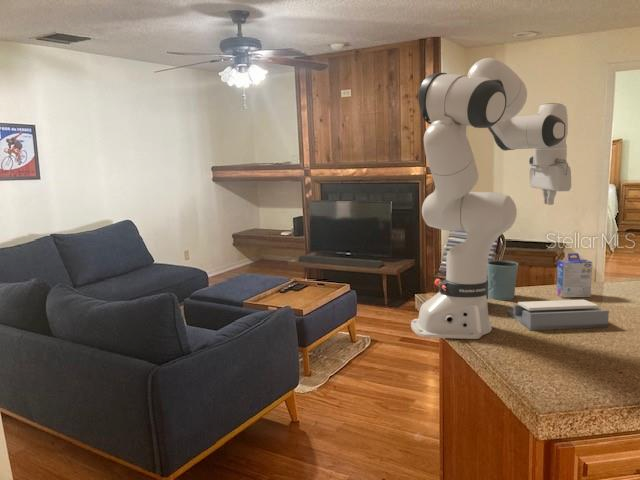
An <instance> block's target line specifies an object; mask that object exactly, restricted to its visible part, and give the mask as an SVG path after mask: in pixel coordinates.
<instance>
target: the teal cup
mask: <svg viewBox="0 0 640 480" xmlns="http://www.w3.org/2000/svg"><path fill="white" fill-rule="evenodd" d="M519 265H520V264H519V263H518V262H516V261H513V260H502V259H494V260H488V265H487V280H488V286H489V294H488V298H490V299H492V300H497V301H498V300H499V301H510V300H513V299H514V298H515V293H516V289H515V288H516V286H517V285H516V284H517V277H518V271H519V270H518V269H519Z"/></svg>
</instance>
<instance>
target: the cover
mask: <svg viewBox="0 0 640 480" xmlns="http://www.w3.org/2000/svg"><path fill="white" fill-rule="evenodd" d="M517 304H518V305H520V306H521V307H523V308H525V309H527V310H529V311H535V310H561V309H586V308H600V307H599V304H596V303H594V302H591V301H589V300H586V299H566V300H565V299H561V300H538V301H537V300H536V301H518V302H517Z"/></svg>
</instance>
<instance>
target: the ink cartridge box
mask: <svg viewBox="0 0 640 480" xmlns="http://www.w3.org/2000/svg"><path fill="white" fill-rule="evenodd" d="M571 256H575V257H571ZM556 263H557V266H556V267H557V268H556V272H557V273H556V277H557V278H556V295H558V296H559V297H561V298H562V299H564V298H590V297H592V280H593V279H592V277H593V275H592V274H593V261H590V260H588V259H586V258H585V259H580V255H579V253H576V252H575V253H567V259H565V260H563V259H562V260H557V262H556Z"/></svg>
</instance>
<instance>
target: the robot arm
mask: <svg viewBox="0 0 640 480" xmlns="http://www.w3.org/2000/svg"><path fill="white" fill-rule="evenodd" d="M418 89H419V90H418V94H417V95H418V96H417V98H418V99H417V100H418V105H419V106H418V107H419V110H420V111H421V116H422V119H423V120H424V121H425V122H426V123H427V124H428V125H429V126H428V127H427V129H426V130H425V131H424V135H423V147H424V153H425V158H426V161H427V165H428V168H429V171H430V173H431V176H432V179H433V183H434V184H433V185H434V190H433V192H432V193H430V194H429V195H427V196H426V198H425V199H424V201H423V203H422V206H421V215H422V219H423V221H424V222H425V224H426V225H427V226H428V227H431V228H434V229H438V230H441V231H442V230H443V231H454V232H466V239H465V241H463V242H460V243H458V244H456V245H453V246H452V247H451V248H450V249H449V250H448V251H447V253H446V256H445V257H446V259H445V261H446V263H445V265H446V267H445V268H446V269H445V272H446V275H445V277H446V278H444V279H443V280H441V279H440V278H436V279H435V280H434V285H436V286H437V287H438V292H437V293H435V294H434V295H433V296H432V297H431V298H429V299H427V300H426V301H425V302H423V303H422V304H421V305H420V308H419V311H418V312H419V313H418V318H414V319H412V320H411V321H410V328H411V330H412V331H413V332H414V333H415V334H416V335H417V336H419V337H422V338H428V339H429V338H431V339H463V340H469V339H470V340H477V339H478V340H479V339H481V337H482V336H484V335H487V334H489V333H491V332H492V329H493V327H492V324H491V320H490V316H489V315H490V314H489V308H488V299H489V296H488V294H489V286H488V274H487V265H488V261H489V255H490V251H491V249H492V246H493V245H494V243H495V242H496V240H498V238H499V237H500V236H501V235H503V234H504V233H506V232H507V231H509V229H511V228H512V227H513V225H514V223H515V222H516V218H517V214H518V212H517V211H518V210H517V206H516V203H515V201H514V199H513V198H512V197H511V196H509V195H508V194H504V193H503V194H502V193H498V192H493V191H488V192H487V191H472V190H473V189H474V188H475V187H476V185H477V184H478V181H479V170H478V168H477V163H476V161H475V160H476V159H475V157H474V153H473V150H472V147H471V145H470V142H469V140H468V137H467V127H473V128H477V129H488V130H489V132H490V133H491V134H492V136H493V140H494V142H495V144H496V145H497V147H499V149H501V150H502V151H505V152H506V151H513V150H526V149H527V150H528V149H529V150H530V149H534V153H533V155H531V156H530V157H529V158H528V165H529V172H528V175H529V176H528V177H529V186H530V187H531V188H532V189H533V188H534V189H540V190H541V193H542V197H543V204H544V205H548V206H551V205H554V202H555V201H554V200H555V198H556V195H557V192H570V190H571V188H572V170H571V166H569V163H568V161H567V157H568V155H567V154H568V147H567V137H568V133H569V132H568V131H569V122H568V120H569V118H568V112H567V111H568V109H567V107H566V106H565V105H564V104H563V103H558V102H557V103H556V102H549V103H544V104H541V105H540V106H539V107H538V111H537V113H536V114H529V115H519V116H517V115H518V114H519V113H520V112H521V111H522V109H523V108H524V106H525V105H526V102H527V98H528V90H527V87H526V85H525V83H524V81H523V80H522V78H520V76H519V75H518V74H517V73H516V72H515V71H514V70H513V69H512V68H511V67H510V66H508V65H507V64H506V63H504V62H502V61H501V60H498V59H497V58H493V57H485V58H480V60H478V61H476V62H475V63H474V64H473V65H472V66H471V67H470V68H469V70H468V72H467V75H465V74H459V73H456V74H455V73H446V72H435V73H433V74H429V75H427V77H425V78H424V79H423V80H422V83H421V84H420V86H419V88H418Z"/></svg>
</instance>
